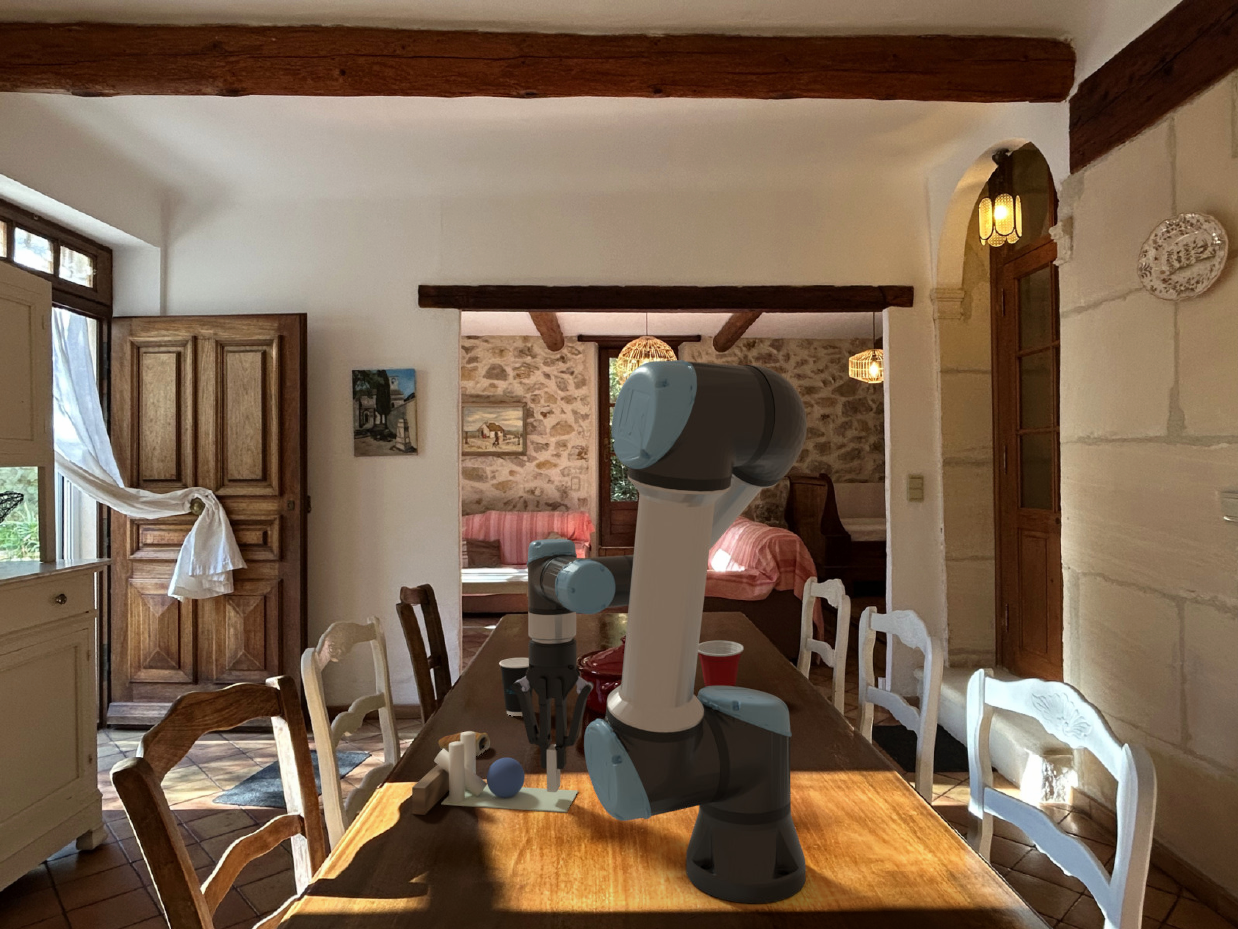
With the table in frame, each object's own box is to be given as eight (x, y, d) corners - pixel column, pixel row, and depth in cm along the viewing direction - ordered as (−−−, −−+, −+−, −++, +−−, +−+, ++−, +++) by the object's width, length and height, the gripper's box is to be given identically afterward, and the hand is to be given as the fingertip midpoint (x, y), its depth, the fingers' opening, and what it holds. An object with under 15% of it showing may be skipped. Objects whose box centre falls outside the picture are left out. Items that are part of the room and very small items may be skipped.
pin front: (484, 787, 128) (440, 751, 129) (475, 799, 128) (431, 763, 130) (489, 781, 130) (445, 746, 132) (480, 793, 131) (437, 758, 132)
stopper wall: (424, 815, 122) (424, 788, 123) (412, 814, 123) (412, 787, 123) (462, 775, 138) (462, 751, 138) (451, 774, 139) (451, 751, 139)
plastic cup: (690, 703, 180) (690, 649, 180) (701, 690, 190) (701, 639, 190) (739, 707, 176) (738, 652, 176) (748, 694, 186) (747, 642, 186)
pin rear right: (461, 805, 126) (461, 746, 126) (446, 804, 126) (446, 746, 126) (467, 798, 128) (466, 741, 128) (452, 798, 129) (452, 741, 129)
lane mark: (566, 812, 123) (566, 811, 123) (441, 804, 126) (441, 803, 126) (578, 791, 131) (578, 790, 131) (460, 784, 134) (460, 783, 134)
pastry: (431, 755, 149) (430, 734, 149) (450, 743, 156) (450, 723, 156) (476, 760, 146) (476, 739, 146) (493, 748, 153) (493, 728, 153)
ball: (476, 769, 127) (486, 807, 127) (511, 761, 126) (521, 799, 125) (490, 757, 133) (500, 793, 132) (523, 748, 132) (533, 785, 131)
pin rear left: (472, 792, 131) (472, 736, 131) (458, 791, 131) (458, 735, 131) (477, 786, 133) (477, 731, 133) (463, 785, 134) (463, 731, 134)
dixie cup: (507, 721, 168) (506, 668, 168) (494, 711, 175) (494, 660, 175) (542, 715, 172) (542, 663, 172) (528, 706, 179) (528, 656, 179)
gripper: (597, 634, 130) (599, 782, 130) (519, 632, 132) (520, 777, 132) (588, 644, 123) (589, 801, 122) (505, 642, 125) (506, 795, 125)
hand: (553, 788), depth 127 cm, fingers closed
